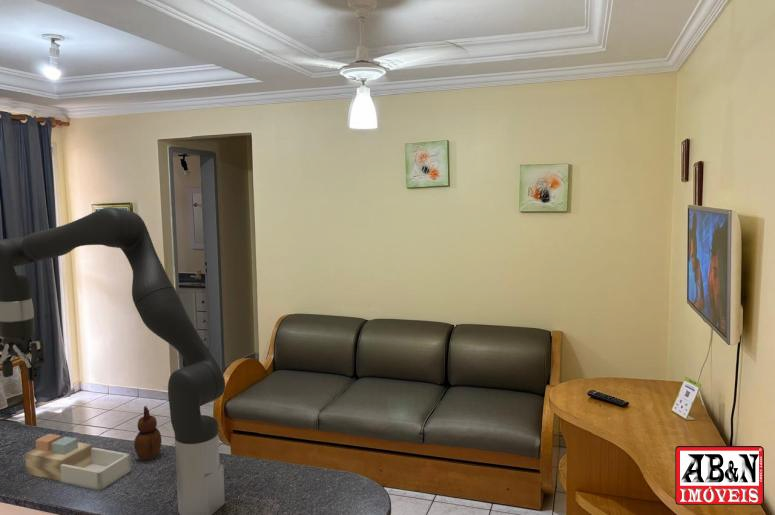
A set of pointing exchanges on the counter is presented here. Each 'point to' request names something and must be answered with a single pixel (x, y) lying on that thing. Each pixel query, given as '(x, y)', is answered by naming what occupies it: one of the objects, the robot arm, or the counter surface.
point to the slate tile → (65, 445)
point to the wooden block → (56, 461)
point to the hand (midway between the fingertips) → (20, 378)
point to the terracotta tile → (46, 442)
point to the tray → (97, 470)
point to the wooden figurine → (147, 437)
